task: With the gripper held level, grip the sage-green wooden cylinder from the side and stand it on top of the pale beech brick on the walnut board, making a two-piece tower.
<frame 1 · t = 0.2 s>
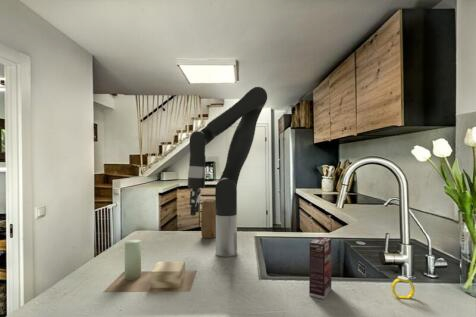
hand: (194, 213, 124), 18 cm above the countertop, tool pointing down, fingers open, 8 cm apart
sage cylinder: (132, 277, 96), point 1 cm above the countertop, touching walnut board
supplement box: (320, 292, 87), on the countertop
watch: (403, 298, 83), on the countertop
beech brick: (168, 281, 92), point 1 cm above the countertop, touching walnut board
block: (209, 236, 154), on the countertop
walnut board: (154, 284, 93), on the countertop
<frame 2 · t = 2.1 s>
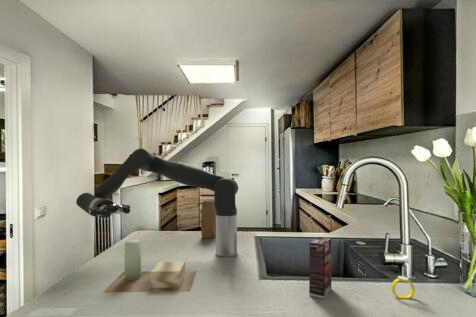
hand: (117, 212, 107), 21 cm above the countertop, tool horizontal, fingers open, 8 cm apart
nothing on the countertop moved.
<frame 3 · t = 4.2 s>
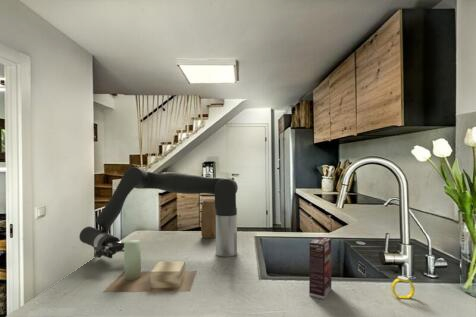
hand: (123, 252, 102), 8 cm above the countertop, tool horizontal, fingers open, 8 cm apart
nothing on the countertop moved.
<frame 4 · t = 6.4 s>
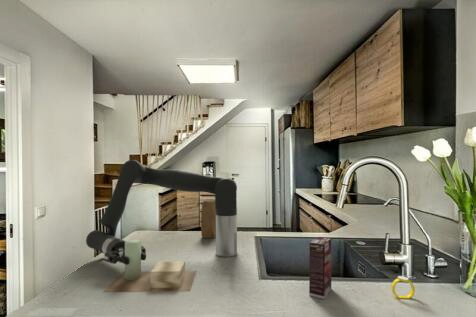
hand: (136, 259, 94), 8 cm above the countertop, tool horizontal, fingers closed on sage cylinder, 5 cm apart
sage cylinder: (132, 277, 96), point 1 cm above the countertop, touching gripper, walnut board
everything else where it was.
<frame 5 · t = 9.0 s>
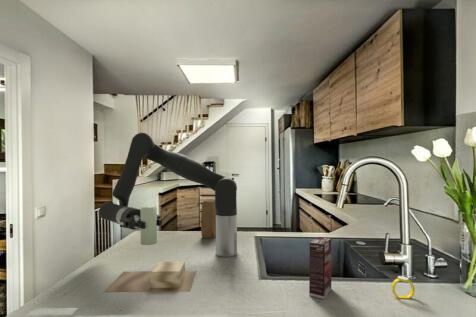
hand: (152, 224, 93), 20 cm above the countertop, tool horizontal, fingers closed on sage cylinder, 5 cm apart
sage cylinder: (148, 242, 95), point 13 cm above the countertop, touching gripper
everything else where it was.
when the fingers open (14 cm above the countertop, at t = 11.4 s): sage cylinder drops 1 cm, resting on beech brick.
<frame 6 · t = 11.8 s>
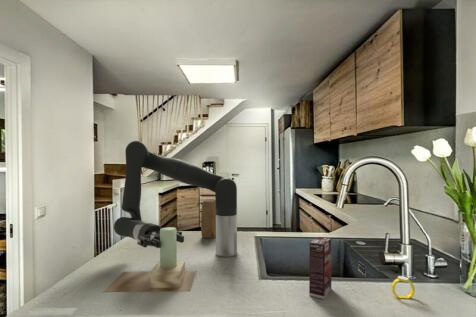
hand: (171, 242, 91), 14 cm above the countertop, tool horizontal, fingers open, 8 cm apart
sage cylinder: (168, 266, 92), point 6 cm above the countertop, touching beech brick
beech brick: (168, 281, 92), point 1 cm above the countertop, touching sage cylinder, walnut board
everything else where it was.
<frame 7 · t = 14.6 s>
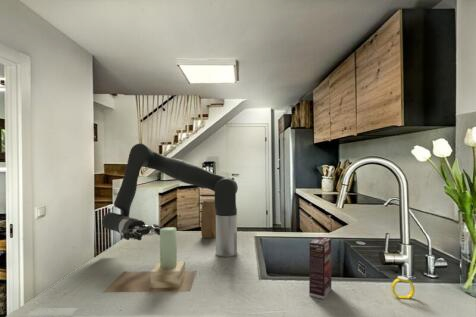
hand: (152, 235, 100), 14 cm above the countertop, tool horizontal, fingers open, 8 cm apart
nothing on the countertop moved.
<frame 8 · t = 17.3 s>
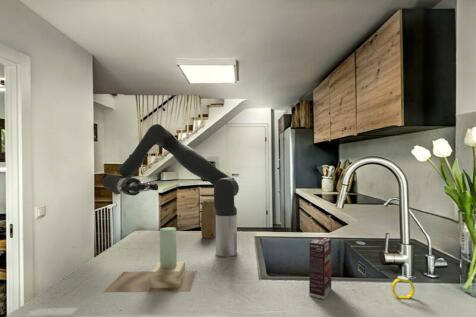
hand: (147, 188, 111), 30 cm above the countertop, tool horizontal, fingers open, 8 cm apart
nothing on the countertop moved.
at the end: sage cylinder 0.1 cm off-centre on the beech brick, point 5.0 cm above the beech brick's base; sage cylinder tilted 1°; the gripper is holding nothing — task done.
